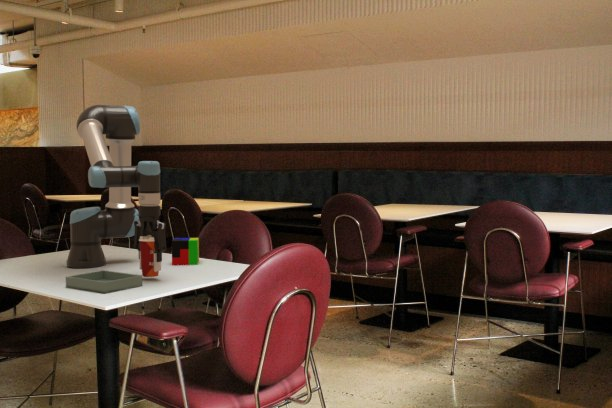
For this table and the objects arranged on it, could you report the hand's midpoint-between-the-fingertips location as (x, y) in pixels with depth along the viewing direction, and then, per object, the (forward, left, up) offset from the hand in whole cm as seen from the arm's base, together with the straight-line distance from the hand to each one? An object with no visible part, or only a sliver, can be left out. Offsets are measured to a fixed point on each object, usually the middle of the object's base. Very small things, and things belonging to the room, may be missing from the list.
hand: (150, 269), depth 241 cm
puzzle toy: (-16, +34, -4) cm, 37 cm away
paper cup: (0, 0, -2) cm, 2 cm away
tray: (-3, -18, -3) cm, 19 cm away
